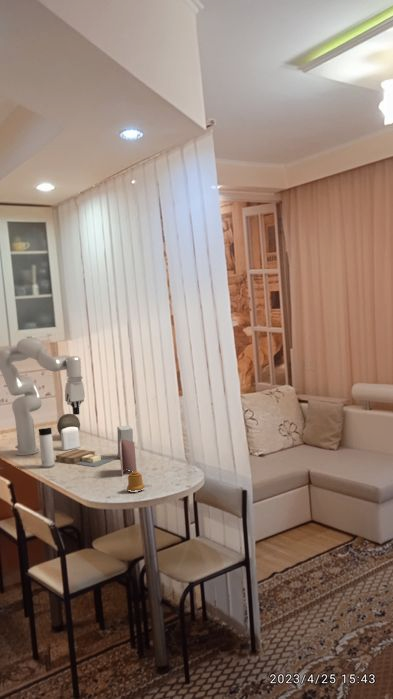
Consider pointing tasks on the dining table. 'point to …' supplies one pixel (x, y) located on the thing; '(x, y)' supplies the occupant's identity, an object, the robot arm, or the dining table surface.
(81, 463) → the mat
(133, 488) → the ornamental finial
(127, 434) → the skincare box
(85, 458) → the cream rectangular block
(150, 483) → the dining table surface
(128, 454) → the greeting card
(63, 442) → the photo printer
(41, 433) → the travel mug
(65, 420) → the cantaloupe
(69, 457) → the tan flat square block
